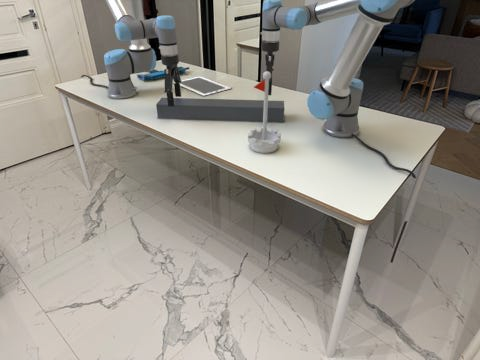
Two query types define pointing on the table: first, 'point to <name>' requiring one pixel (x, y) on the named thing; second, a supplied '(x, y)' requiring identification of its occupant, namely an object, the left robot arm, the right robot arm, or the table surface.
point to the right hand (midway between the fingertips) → (268, 90)
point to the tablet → (203, 86)
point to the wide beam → (220, 109)
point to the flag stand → (264, 125)
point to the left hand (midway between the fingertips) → (174, 101)
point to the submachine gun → (157, 74)
